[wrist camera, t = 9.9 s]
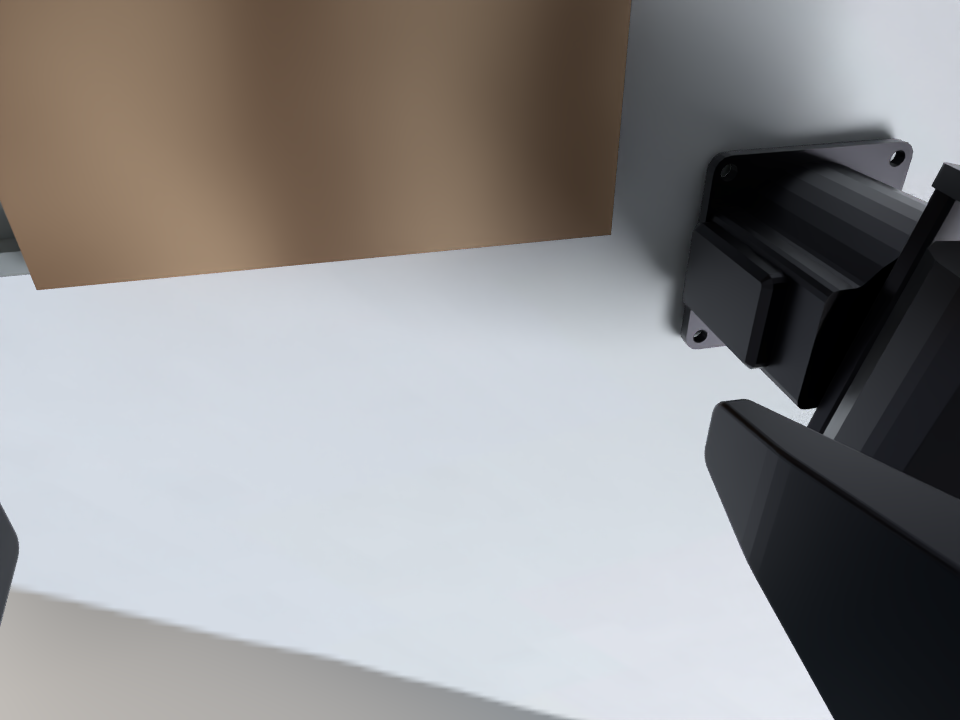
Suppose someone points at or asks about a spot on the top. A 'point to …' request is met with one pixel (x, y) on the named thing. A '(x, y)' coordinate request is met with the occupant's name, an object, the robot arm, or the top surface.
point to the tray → (10, 250)
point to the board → (301, 130)
